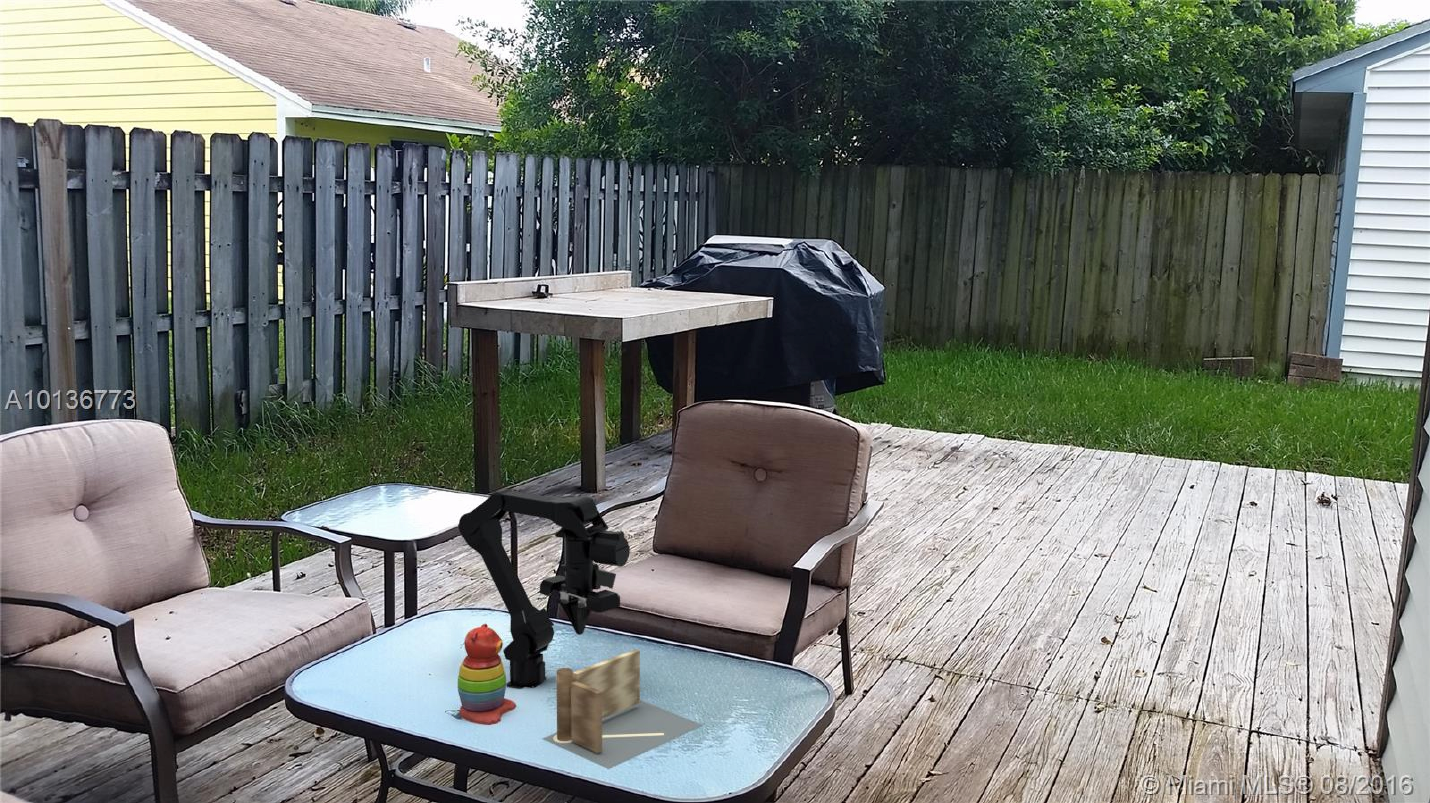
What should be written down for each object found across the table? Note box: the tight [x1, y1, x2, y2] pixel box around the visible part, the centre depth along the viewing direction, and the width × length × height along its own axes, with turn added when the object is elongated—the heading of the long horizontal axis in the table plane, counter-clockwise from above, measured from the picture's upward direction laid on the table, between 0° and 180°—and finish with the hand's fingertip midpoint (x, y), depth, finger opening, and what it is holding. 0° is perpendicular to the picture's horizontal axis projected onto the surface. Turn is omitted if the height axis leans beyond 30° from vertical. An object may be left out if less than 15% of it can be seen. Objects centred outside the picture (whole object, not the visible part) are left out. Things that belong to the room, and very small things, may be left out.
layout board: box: [542, 700, 704, 770], centre depth 221 cm, size 18×25×1 cm
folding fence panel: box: [573, 649, 641, 718], centre depth 225 cm, size 16×1×11 cm, turn 138°
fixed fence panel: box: [555, 667, 602, 753], centre depth 214 cm, size 11×3×13 cm, turn 48°
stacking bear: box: [457, 623, 517, 726], centre depth 228 cm, size 11×10×18 cm
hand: (579, 633), depth 238 cm, fingers closed
